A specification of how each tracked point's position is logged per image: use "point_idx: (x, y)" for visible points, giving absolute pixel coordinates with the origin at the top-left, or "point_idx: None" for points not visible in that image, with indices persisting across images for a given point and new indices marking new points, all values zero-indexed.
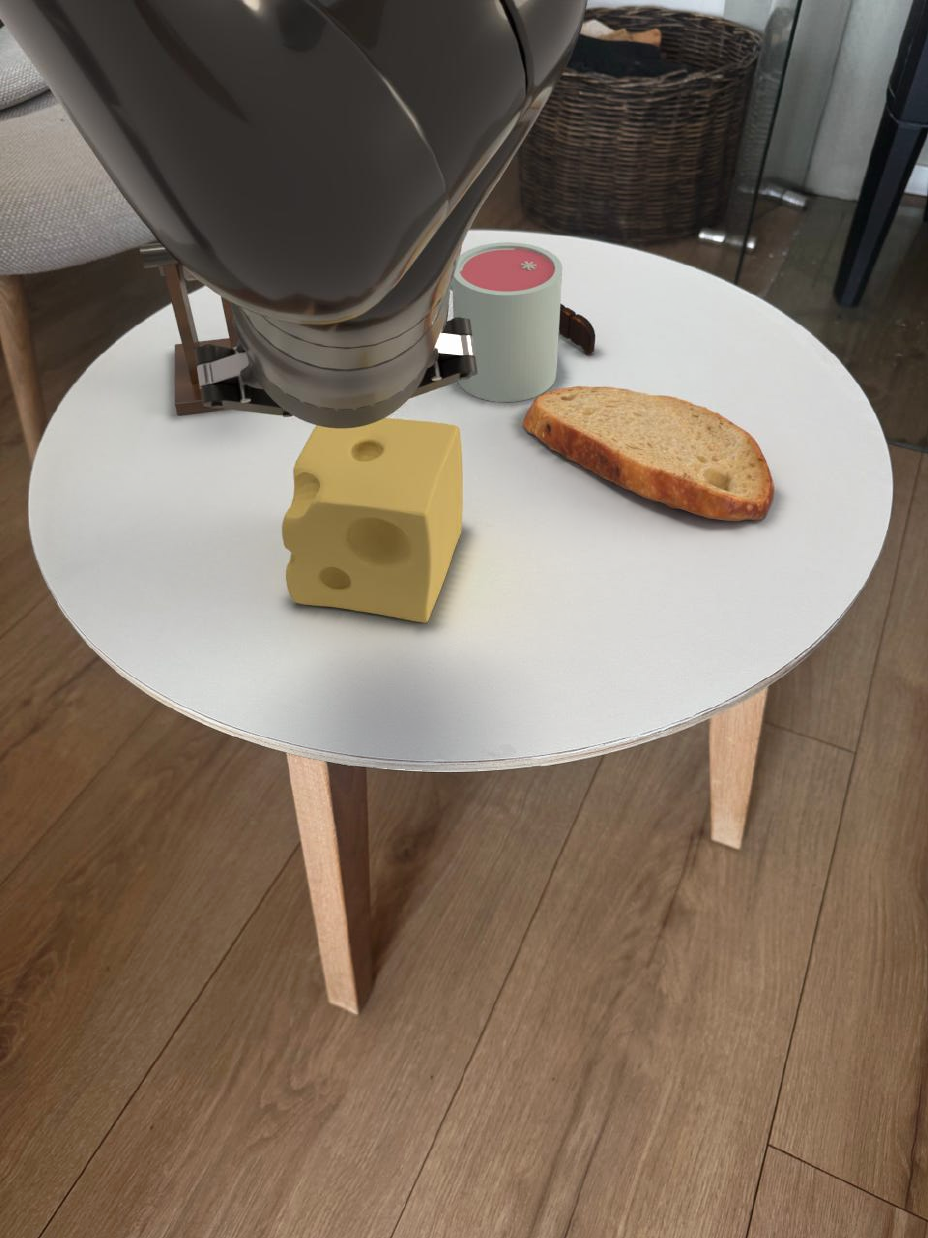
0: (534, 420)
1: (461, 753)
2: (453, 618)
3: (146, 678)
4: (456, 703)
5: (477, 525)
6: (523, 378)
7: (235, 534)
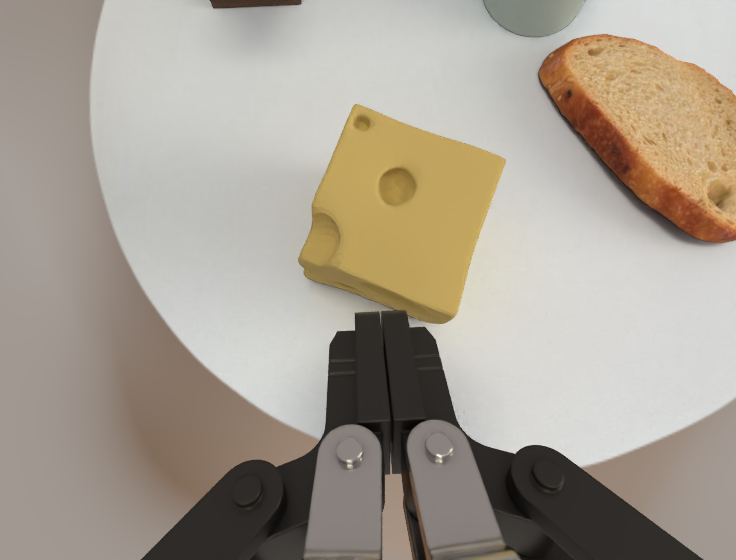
0: (555, 78)
1: None
2: None
3: (186, 344)
4: None
5: None
6: (555, 16)
7: (263, 181)
